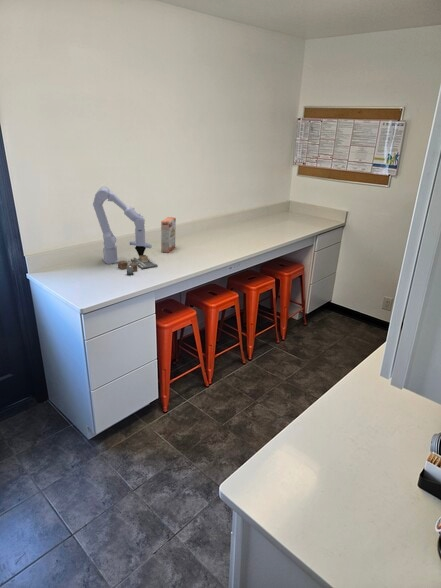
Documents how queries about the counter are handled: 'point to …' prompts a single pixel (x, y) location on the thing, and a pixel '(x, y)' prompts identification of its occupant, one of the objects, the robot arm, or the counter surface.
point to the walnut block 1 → (122, 265)
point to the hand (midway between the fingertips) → (141, 257)
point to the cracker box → (168, 234)
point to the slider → (143, 258)
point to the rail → (144, 264)
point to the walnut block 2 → (134, 266)
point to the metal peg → (129, 269)
